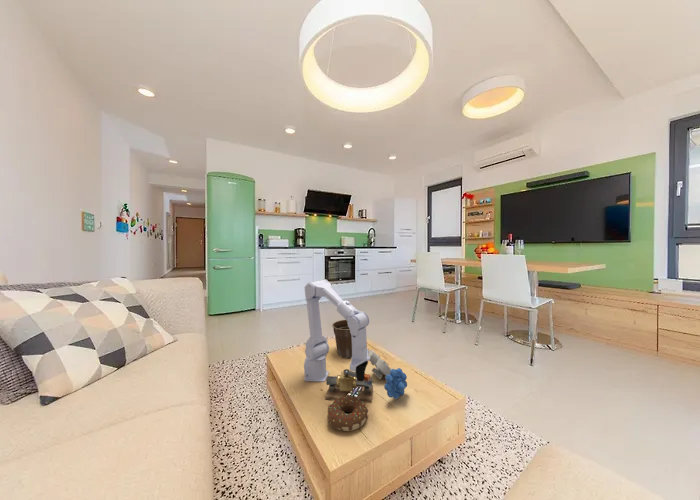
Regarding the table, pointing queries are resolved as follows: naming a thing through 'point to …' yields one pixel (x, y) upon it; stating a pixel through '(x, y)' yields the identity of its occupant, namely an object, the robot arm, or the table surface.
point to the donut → (347, 420)
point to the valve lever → (351, 373)
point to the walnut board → (339, 393)
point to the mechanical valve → (378, 365)
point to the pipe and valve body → (347, 383)
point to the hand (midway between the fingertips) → (360, 380)
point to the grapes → (395, 383)
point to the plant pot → (343, 338)
